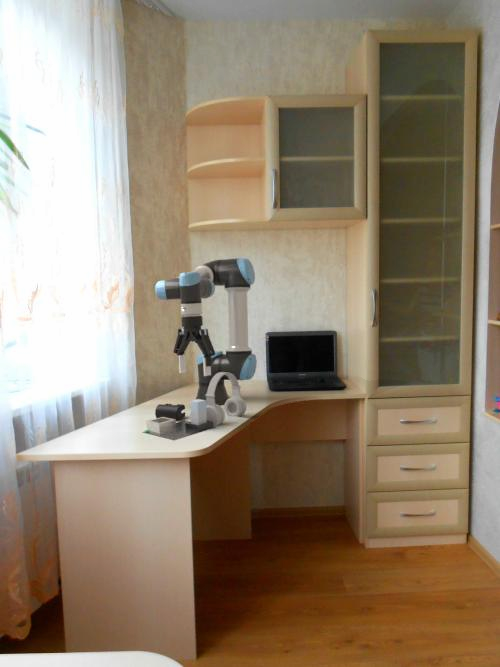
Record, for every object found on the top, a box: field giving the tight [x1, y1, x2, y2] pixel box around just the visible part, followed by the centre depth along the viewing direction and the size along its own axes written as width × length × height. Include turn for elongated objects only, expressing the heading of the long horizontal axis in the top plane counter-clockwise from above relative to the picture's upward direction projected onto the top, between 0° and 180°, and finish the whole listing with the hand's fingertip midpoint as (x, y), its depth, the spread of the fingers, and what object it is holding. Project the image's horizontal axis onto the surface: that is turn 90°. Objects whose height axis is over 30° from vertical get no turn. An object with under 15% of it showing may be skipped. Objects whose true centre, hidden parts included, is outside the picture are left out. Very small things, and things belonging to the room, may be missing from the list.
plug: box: [189, 399, 207, 425], centre depth 188 cm, size 4×4×10 cm
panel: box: [141, 417, 217, 441], centre depth 187 cm, size 20×18×5 cm
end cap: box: [154, 403, 186, 422], centre depth 204 cm, size 10×7×7 cm
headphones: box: [205, 372, 247, 427], centre depth 199 cm, size 20×8×19 cm, turn 149°
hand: (194, 374), depth 187 cm, fingers open, 13 cm apart
